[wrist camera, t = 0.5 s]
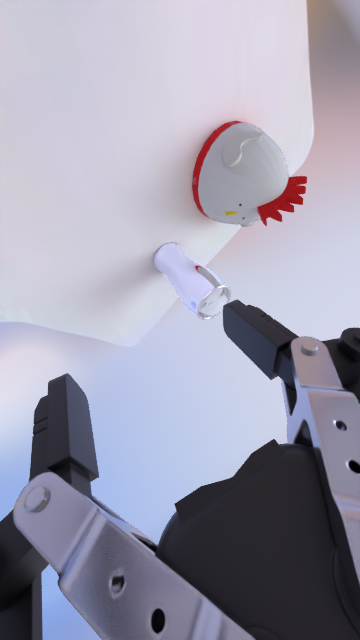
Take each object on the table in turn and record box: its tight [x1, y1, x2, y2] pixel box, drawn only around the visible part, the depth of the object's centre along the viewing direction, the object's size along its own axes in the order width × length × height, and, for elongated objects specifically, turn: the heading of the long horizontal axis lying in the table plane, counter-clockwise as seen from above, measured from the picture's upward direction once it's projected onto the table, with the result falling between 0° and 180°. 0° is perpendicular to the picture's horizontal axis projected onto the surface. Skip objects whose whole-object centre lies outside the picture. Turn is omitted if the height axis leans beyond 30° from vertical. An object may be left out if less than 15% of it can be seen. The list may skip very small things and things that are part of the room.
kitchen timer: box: [192, 121, 307, 227], centre depth 33 cm, size 14×14×15 cm
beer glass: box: [154, 243, 231, 320], centre depth 38 cm, size 7×7×15 cm
